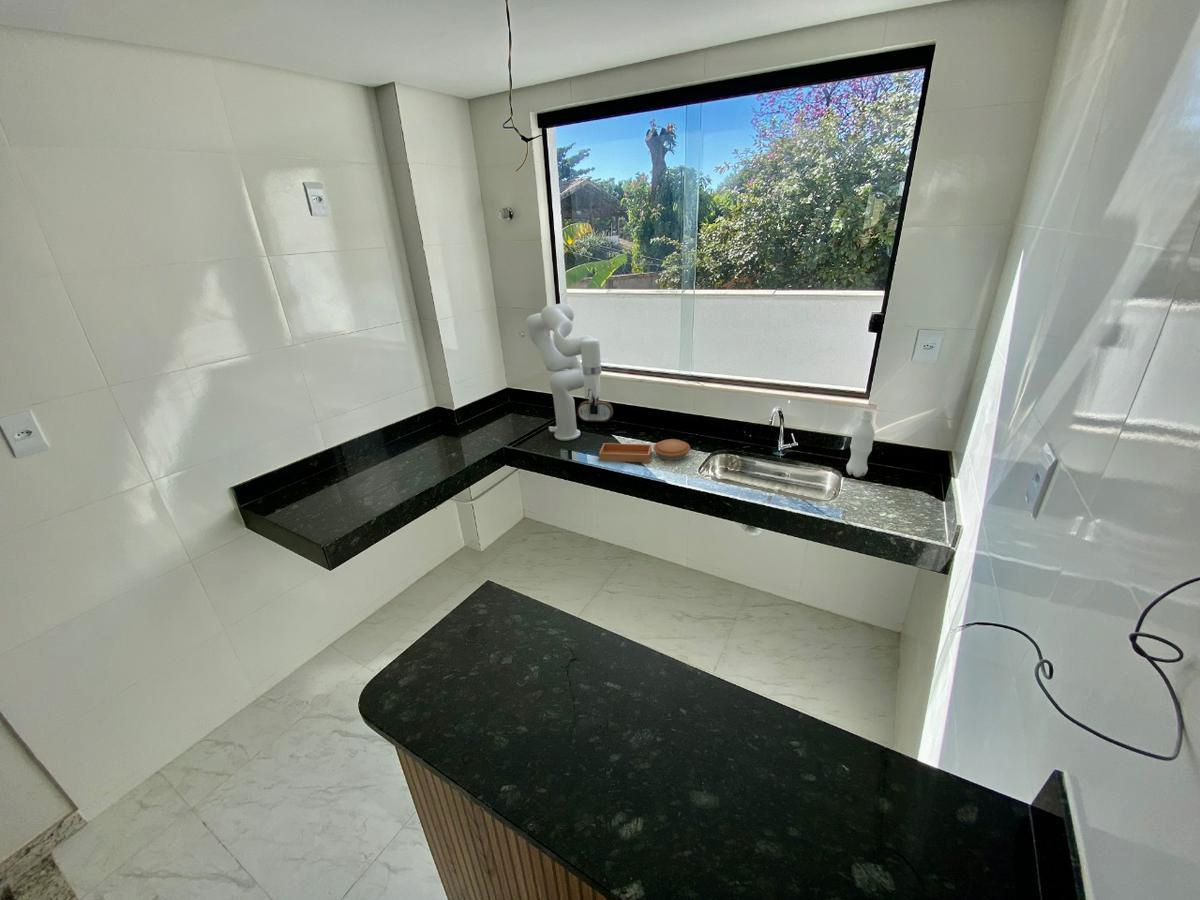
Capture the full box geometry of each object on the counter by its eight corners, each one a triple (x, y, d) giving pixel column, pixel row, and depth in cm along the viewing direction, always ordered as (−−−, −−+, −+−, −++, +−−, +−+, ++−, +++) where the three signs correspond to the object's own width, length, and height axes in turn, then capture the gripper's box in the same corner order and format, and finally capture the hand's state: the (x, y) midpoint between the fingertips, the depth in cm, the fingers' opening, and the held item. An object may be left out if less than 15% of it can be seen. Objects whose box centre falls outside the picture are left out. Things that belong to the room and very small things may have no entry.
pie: (668, 444, 217) (668, 433, 215) (697, 453, 207) (697, 442, 205) (646, 456, 208) (646, 445, 206) (675, 466, 198) (675, 455, 196)
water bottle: (865, 470, 185) (877, 409, 175) (867, 479, 179) (880, 417, 168) (844, 468, 188) (855, 408, 177) (846, 477, 182) (857, 415, 171)
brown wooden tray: (599, 460, 207) (598, 453, 205) (604, 450, 216) (603, 443, 214) (649, 462, 202) (648, 455, 201) (651, 451, 211) (651, 444, 210)
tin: (613, 420, 203) (613, 400, 200) (612, 422, 200) (611, 402, 198) (579, 419, 207) (578, 400, 204) (577, 421, 204) (576, 402, 201)
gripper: (587, 364, 203) (591, 405, 210) (577, 375, 188) (581, 419, 196) (605, 364, 201) (607, 405, 209) (596, 375, 187) (599, 420, 195)
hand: (595, 412), depth 202 cm, fingers closed on tin, 2 cm apart
